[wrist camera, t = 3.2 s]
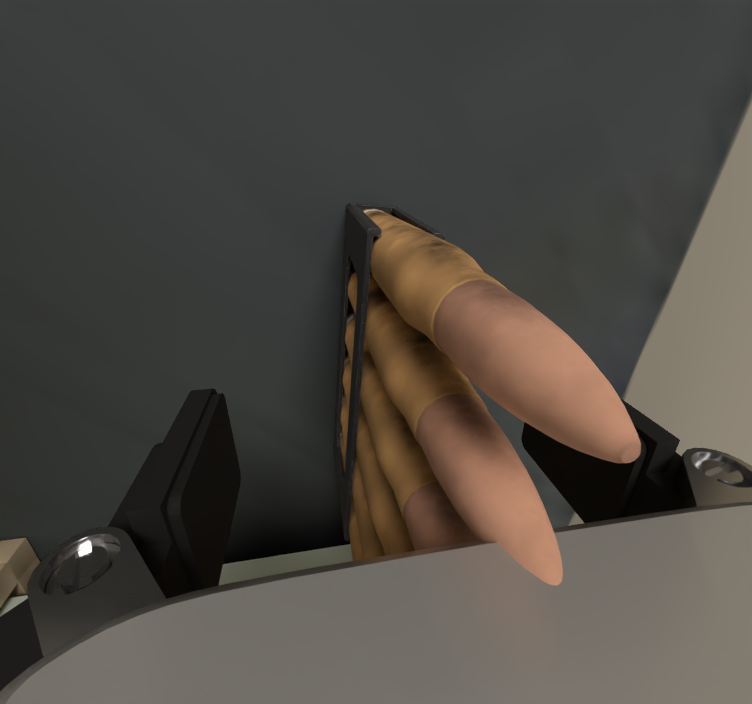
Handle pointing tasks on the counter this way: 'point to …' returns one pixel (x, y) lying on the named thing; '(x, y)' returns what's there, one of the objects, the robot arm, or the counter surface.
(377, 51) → the counter surface
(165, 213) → the counter surface
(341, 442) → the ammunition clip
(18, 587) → the cabinet
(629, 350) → the counter surface
